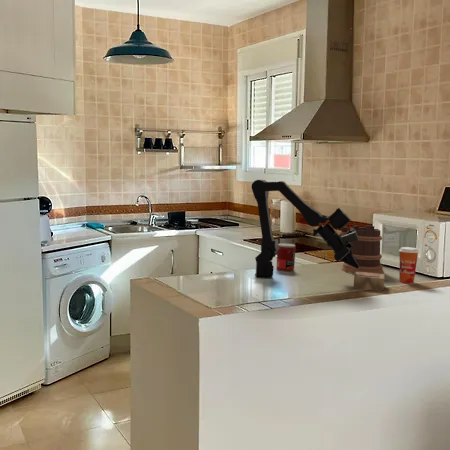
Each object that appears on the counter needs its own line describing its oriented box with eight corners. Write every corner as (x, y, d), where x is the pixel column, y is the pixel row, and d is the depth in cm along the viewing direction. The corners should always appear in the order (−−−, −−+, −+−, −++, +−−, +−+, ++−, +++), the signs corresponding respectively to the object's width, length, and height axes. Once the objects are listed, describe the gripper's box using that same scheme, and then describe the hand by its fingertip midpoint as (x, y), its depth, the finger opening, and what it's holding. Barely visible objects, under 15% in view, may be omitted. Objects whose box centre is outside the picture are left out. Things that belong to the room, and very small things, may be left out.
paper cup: (395, 282, 239) (397, 248, 237) (398, 279, 245) (401, 246, 244) (414, 284, 235) (417, 250, 233) (418, 281, 242) (420, 248, 240)
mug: (351, 264, 278) (354, 222, 275) (392, 272, 260) (395, 228, 258) (325, 267, 266) (328, 223, 264) (366, 276, 248) (369, 229, 246)
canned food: (288, 271, 251) (289, 246, 250) (272, 269, 256) (274, 244, 255) (297, 269, 257) (298, 245, 256) (282, 267, 262) (283, 242, 261)
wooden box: (354, 275, 223) (384, 277, 220) (355, 270, 232) (384, 273, 229) (353, 288, 223) (383, 291, 220) (354, 284, 233) (383, 286, 230)
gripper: (344, 226, 218) (373, 257, 216) (348, 221, 236) (375, 251, 234) (322, 245, 221) (350, 276, 219) (327, 239, 239) (353, 268, 237)
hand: (358, 267), depth 227 cm, fingers closed
